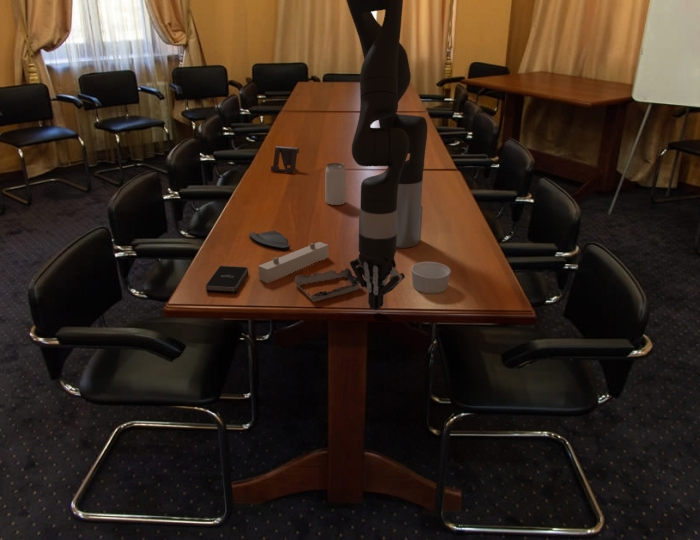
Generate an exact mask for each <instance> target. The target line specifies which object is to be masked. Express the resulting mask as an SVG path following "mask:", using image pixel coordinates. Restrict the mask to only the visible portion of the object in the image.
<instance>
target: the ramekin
mask: <svg viewBox="0 0 700 540" xmlns="http://www.w3.org/2000/svg"><path fill="white" fill-rule="evenodd" d="M410 271H411V283H412V287H413V288H414V289H415V290H416V291H418V292H419V293H424V294H429V295H430V294H433V295H435V294H440V293H443V292H444V291H446V290H447V288H448V285H449V281H450V275H451V273H452V271H451V268H450V267H449V266H448V265H446V264H443V263H441V262H435V261H421V262H418V263H415V264H413V265H412V266H411V268H410Z"/></svg>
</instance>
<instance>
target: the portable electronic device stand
mask: <svg viewBox="0 0 700 540" xmlns="http://www.w3.org/2000/svg"><path fill="white" fill-rule="evenodd" d="M274 149H275V150H274V156H273V165H271V166H270V171H271V172H272V171H274V172H273V173H282V172H287V173H286V174H291V173H293V172H295V173H296V168H295V167H297V166H296V164H297V157H298V154H299V153H300V148H299V147H292V146H291V147H290V146H280V145H276V146H275V148H274ZM280 157H281V161H282V164H283V167H284V166H285V167H284V168H280V166H279V165H280V164H279V161H280ZM287 166H289V167H287Z"/></svg>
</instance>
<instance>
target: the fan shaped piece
mask: <svg viewBox="0 0 700 540" xmlns="http://www.w3.org/2000/svg"><path fill="white" fill-rule="evenodd" d="M248 235H249V238H250V240H251V241H252V242H254V243H255V244H257V245H259V246H261V247H263V248H266V249H271V250H276V251H281V252H285V251H289V250H291V249H290V248H291V245H289V241H288V238H286V237H285V235H283V234H282V233H281V232H278V231H276V230H270V231H265V232H261V233H256V232H249V233H248Z"/></svg>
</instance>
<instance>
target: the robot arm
mask: <svg viewBox="0 0 700 540" xmlns="http://www.w3.org/2000/svg"><path fill="white" fill-rule="evenodd" d="M346 3H347V6H348V10H349V13H350V15H351V19H352V21H353V24H354V27H355V30H356V33H357V36H358V39H359V42H360V43H359V44H360V47H361V51H362V55H363V62H362V64H361V69H360V74H359V92H360V93H359V96H360V98H359V99H360V103H359V104H360V106H359V107H360V109H359V116H358V121H357V125H356V129H355V132H354V136H353V140H352V144H351V155H352V158H353V160H354V162H355V163H356V164H357V165H358V166H361V167H387V168H386V169H385V170H384V172H382V173H380V174H377V175H373V176H369V177H366V178H364V179H363V180H362V182H361V185H360V207H359V209H360V211H359V217H358V252H359V255H358V258H355V259H353V260H351V261H350V262H349V265H350V267H351V270H352V271H353V274H355V277H356V278H357V279H358V281H359V286H361V288H366V291H367V293H368V300H367V301H368V305H369V308H370V309H372V310H374V311H378V310H380V309H381V308H382V307H383V306H384V296H385V295H386V294H388V293H390V292H392V291H393V290H394V289H395V288H396V287H397V286H398V285H399V284H400V283H401V282H402V281H403V280H405V278H406V277H405V273H403V272H401V273H400V272H399V271H398V270H397V269H396V268H397V267H396V266H397V265H396V264H397V263H396V261H395V255H396V252H397V248H399V249H400V248H402V249H405V248H406V249H407V248H413V247H416V246H418V244H419V243H420V240H421V239H422V224H423V223H422V222H423V206H422V200H423V199H422V196H423V194H422V193H423V180H424V169H425V157H426V149H427V148H426V146H427V140H428V122H427V119H426V118H425V117H424V116H420V115H411V114H410V115H409V114H399V113H398V109H399V102H400V101H401V99H402V98H403V96H404V95H405V93H406V92H407V89H408V88H409V86H410V84H411V70H410V69H411V68H410V63H409V59H408V58H409V57H408V53H407V51H406V49H405V47H404V46H403V44H402V43H401V29H402V16H403V15H402V14H403V6H404V5H403V4H404V0H346ZM377 11H378V12H379V11H384V16H383V21H382V25H381V24H380V23H379V22H378V20H377V19H376V17H374V14H373V12H377ZM377 121H378V124H379V127H371V126H372V124H373V123H374V122H377ZM408 155H409V157H408ZM407 158H408V159H407ZM388 280H389V281H388Z"/></svg>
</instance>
